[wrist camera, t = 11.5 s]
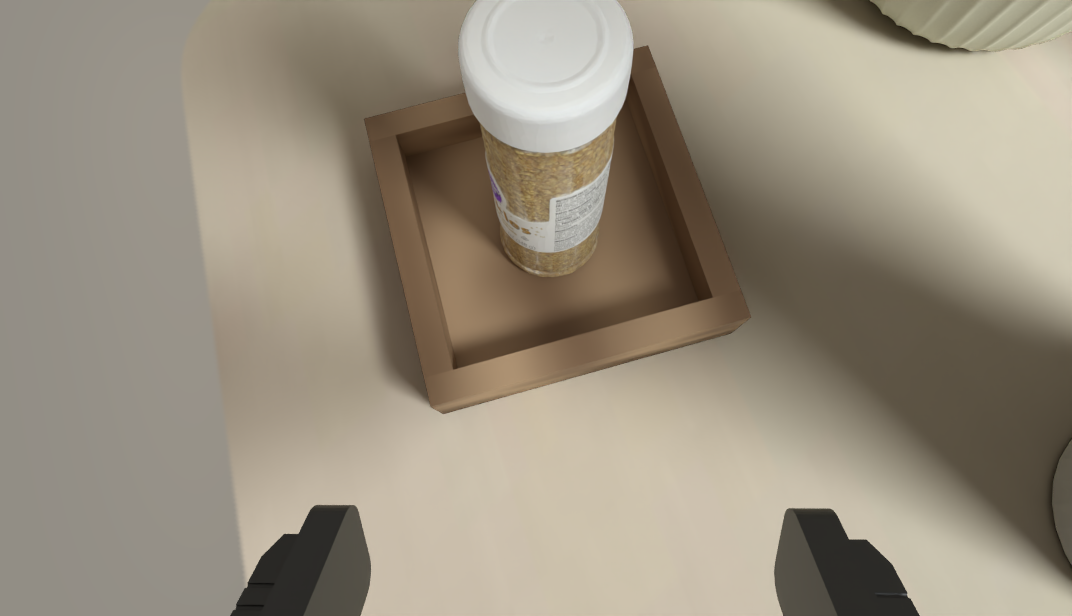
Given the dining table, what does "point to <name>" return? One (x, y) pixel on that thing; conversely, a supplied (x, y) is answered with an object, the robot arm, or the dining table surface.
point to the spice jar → (547, 119)
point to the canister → (982, 21)
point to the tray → (549, 302)
